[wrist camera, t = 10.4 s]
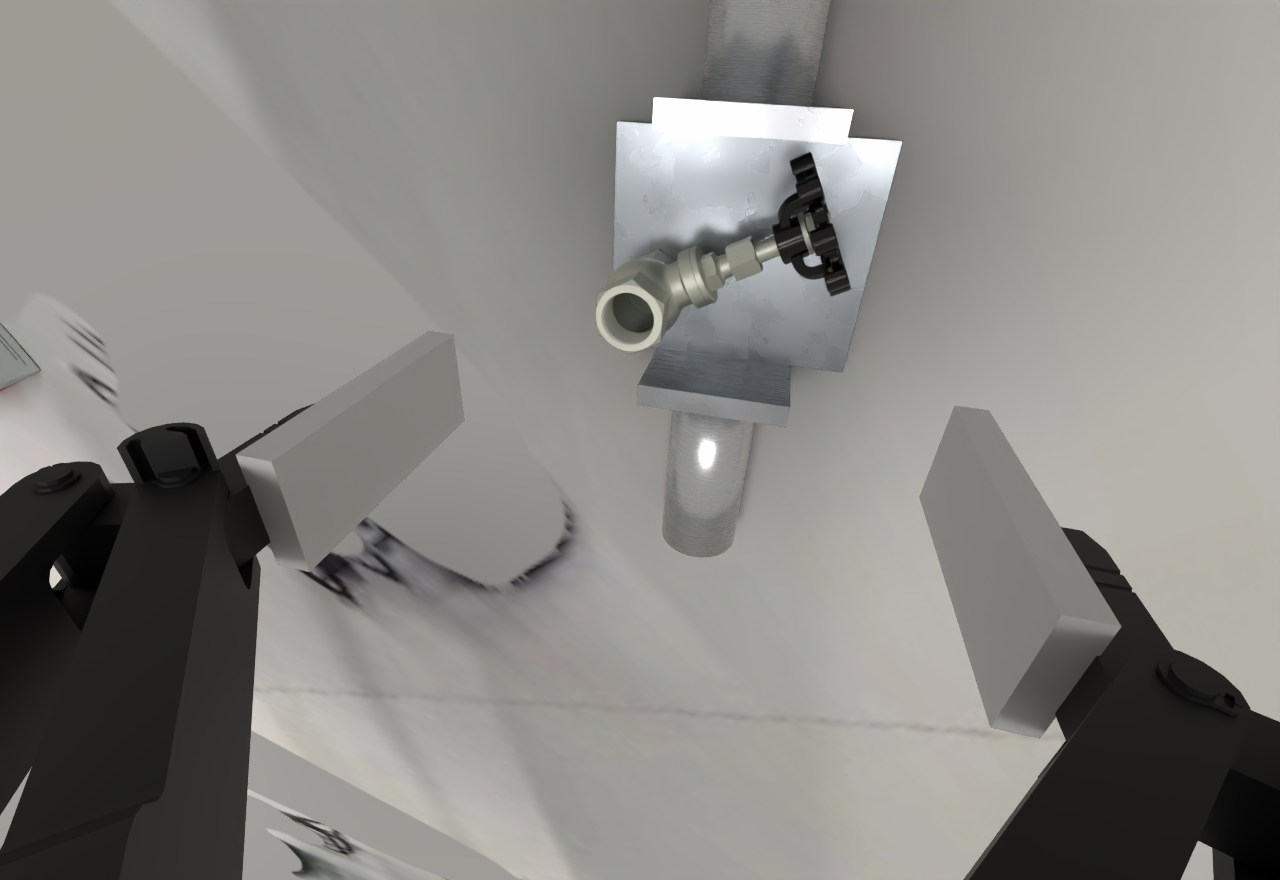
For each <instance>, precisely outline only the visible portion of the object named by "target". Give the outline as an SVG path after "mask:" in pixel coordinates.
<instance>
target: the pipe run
mask: <svg viewBox="0 0 1280 880" xmlns="http://www.w3.org/2000/svg"><path fill="white" fill-rule="evenodd" d="M829 6H830V0H711V7H710V18H709V28H708V39H707V50H706V61H705V72H704V82H703V93H702V99H689V98H661V97H654V101H653V119H652V123H646V122H631V121H617V142H616V179H615V216H614V254H613V272H614V271H615V270H616V269H617V268H618V267H619V266H621V265H622V264H624V263H625V262H627V261H630V260H633V259H636V258H640V257H642V256H644V255H647V254H649V253H652V252H654V251H657V250H660V251H662V252H663V253H664V254H666V255H667V256H669V257H670V258H671V259H672V260H674V261H677V258H678V254H679V253H680V252H682V251H684V250H686V249H689V248H691V247H694V246H696V245H697V246H699V247H700V248H701V249H702V251H703V252H704V254H705V255H706V254H708V253H711V252H714V253H715V254H716V255H717V256H720V255H723V254H725V253H726V252H725V249H726V247H727V246H728V245H730V244H733V243H735V242H737V241H740V240H742V239H745V238H747V237H749V236H752V237H753V239H754V241H755V243H757V242H759V241H762V240H764V239H767V238H769V237H771V236H774V235H773V231H772V225H773V224H775V223H777V222H779V221H778V211H779V208H780V206H781V205H782V203H783V202H784V201H785V200H786V199H787V198H788V197H789V196H791V195H792V194H794V193H797V190H796V187H795V184H796V183H797V181H796V178H795V175H793V173H792V169H791V166H790V160H792V159H795V158H797V157H799V156H801V155H803V154H805V153H808V152H812V155H813V158H814V162H815V165H816V169H817V172H818V175H819V178H820V182H821V185H822V188H823V192H824V195H825V201H824V203H826V204H827V208H828V211H829V214H830V217H831V220H832V223H833V226H834V229H835V233H836V236H837V240H838V243H839V249H840V252H841V255H842V259H843V262H844V264H845V267H846V271H847V274H848V278H849V281H850V286H851V290H850V291H847V292H844V293H841V294H838V295H835V296H832V297H831V296H830V293H829V292H828V291H827V288H826V285H825V281H824V278H821V279H816V280H810V279H806V278H803V277H802V276H800V275H799V274H798V273H797V272H796V270H795V269H794V267H793V265H792V262H791V263H789V264H786V265H785V264H784V263H783V262H782V259H781V257H780V256H778V257H775V258H773V259H770V260H768V261H765V262H763V263H762V265H763V270H762V272H761V273H758V274H756V275H753V276H750V277H748V278H745V279H743V280H740V281H736V279H735V277H734V276H732V277H729V278H727V279H726V280H725V285H724V286H723V287H722V288H719V289H717V293H718V299H717V301H716V302H715V303H712V304H710V305H707V306H704V307H702V308H697V307H695V306H694V305H693V304H691V305H689V306H686V307H684V308H682V310H681V313H680V315H679V317H678V319H677V321H676V322H675V324H674V325H673V326H672V327H671V328H670V329H669V330H668V331H667V332H666V333H665V335H664V337H663V338H662V340H661V342H660V343H657V344H655V345H653V346H651V347H658V349H657V351H656V352H655V354H654V356H653V358H652V360H651V362H650V363H649V365H648V367H647V369H646V371H645V373H644V374H643V376H642V378H641V380H640V382H639V384H638V392H637V405H643V406H649V407H656V408H662V409H669V410H673V416H672V427H671V438H670V448H669V459H668V470H667V481H666V491H665V502H664V513H663V524H662V534H663V537H664V539H665V541H666V542H667V543H668V544H669V545H670V546H671V547H672V548H674V549H675V550H677V551H679V552H681V553H683V554H686V555H689V556H694V557H712V556H716V555H719V554H722V553H724V552H725V551H727V550H728V549H729V548H730V546H731V545H732V543H733V540H734V535H735V529H736V523H737V518H738V512H739V507H740V501H741V496H742V490H743V484H744V479H745V473H746V468H747V462H748V457H749V451H750V446H751V440H752V434H753V429H754V423H760V424H766V425H773V426H779V427H786V423H787V419H788V414H789V409H790V365H791V366H798V367H805V368H813V369H820V370H828V371H835V372H842V373H843V369H844V365H845V361H846V357H847V354H848V350H849V346H850V342H851V338H852V334H853V330H854V326H855V323H856V319H857V315H858V311H859V307H860V303H861V299H862V296H863V292H864V288H865V284H866V280H867V276H868V272H869V268H870V265H871V261H872V257H873V253H874V249H875V245H876V241H877V237H878V234H879V230H880V226H881V222H882V218H883V214H884V210H885V207H886V203H887V199H888V195H889V191H890V187H891V183H892V179H893V176H894V172H895V168H896V164H897V160H898V156H899V152H900V148H901V145H902V141H900V140H890V139H875V138H861V137H848V133H849V128H850V123H851V119H852V114H853V110H852V109H845V108H835V107H819V106H812V100H813V95H814V89H815V84H816V78H817V73H818V67H819V61H820V56H821V50H822V45H823V39H824V34H825V28H826V23H827V17H828V11H829ZM807 210H809V205H808V206H805V207H802V208H799V209H797V210H795V211H794V212H793V213H792V214H791V217H792V216H794V215H797V214H799V213H801V212H802V213H803V215H804V216H805V214H807ZM814 252H815V251H814ZM804 262H805V264H806V265H807V266H809V267H815V266H817V265H820V264H822V262H821V258H820V256H816V254H812V255H809V256H807V257H804Z"/></svg>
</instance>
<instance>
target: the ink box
mask: <svg viewBox="0 0 1280 880" xmlns="http://www.w3.org/2000/svg"><path fill="white" fill-rule="evenodd" d="M38 371H40V369H39V368H38V367H37V365H36V364H35V363H34V362H33V361H32V360H31V359H30V357H29V356H28V355H27V354H26V353H25V351H24V350H23V349H22V348H21V347H20V346H19V345H18V343H17V342H16V341H15V340H14V339H13V338H12V336H11V335H10V334H9V333H8V332H7V331H6V330H5V329H4V328H3V326H2V325H1V324H0V391H1V390H3V389H5V388H7V387H9V386H11V385H13V384H15V383H17V382H19V381H21V380H22V379H25V378H27V377H29V376H31V375H33V374H34V373H36V372H38Z"/></svg>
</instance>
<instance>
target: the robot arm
mask: <svg viewBox="0 0 1280 880" xmlns="http://www.w3.org/2000/svg"><path fill="white" fill-rule="evenodd" d="M463 421H464V412H463V405H462V397H461V389H460V382H459V373H458V366H457V358H456V350H455V342H454V335H453V334H446V333H439V332H432V331H428V332H426V333H425V334H423V335H422V336H420V337H418V338H417V339H415V340H414V341H412V342H411V343H409V344H407V345H406V346H404V347H403V348H401V349H400V350H398V351H396V352H395V353H393V354H392V355H390V356H389V357H387V358H386V359H384V360H383V361H381V362H379V363H378V364H376V365H375V366H373V367H372V368H370V369H368V370H367V371H365V372H364V373H362V374H361V375H359V376H357V377H356V378H354V379H353V380H351V381H350V382H348V383H347V384H345V385H343V386H342V387H340V388H339V389H337V390H336V391H334V392H333V393H331V394H329V395H328V396H326V397H325V398H323V399H322V400H320V401H318V402H317V403H315V404H312V405H309V406H307V407H304V408H301V409H299V410H296V411H294V412H293V413H291V414H290V415H288V416H286V417H285V418H283V419H282V420H280V421H279V422H278V424H274V425H272V426H271V427H269V428H267V429H266V430H264V433H259V434H258V435H256V436H255V437H253V438H251V439H250V440H248V441H247V442H245V443H244V444H242V445H240V446H239V447H237V448H236V449H234V450H232V451H231V452H229V453H228V454H226V455H224V456H223V457H221V458H220V459H218V460H217V459H216V456H215V454H214V451H213V449H212V446H211V444H210V441H209V439H208V437H207V434H206V431H205V429H204V427H202V426H200V425H198V424H193V423H171V424H165V425H161V426H156V427H152V428H149V429H146V430H144V431H141V432H138V433H135V434H134V435H132V436H130V437H129V438H127V439H125V440H124V441H123V442H122V443H121V444H120V445H119V446H118V447H117V449H118V451H119V453H120V455H121V457H122V459H123V461H124V463H125V465H126V467H127V469H128V471H129V473H130V475H131V477H132V479H133V480H134V482H135V483H114V484H110V483H109V481H108V479H107V477H106V475H105V474H104V472H103V470H102V468H101V466H100V465H99V464H96V463H93V462H71V463H59V464H55V465H53V466H52V467H51V466H48V467H45V468H42V469H40V470H39V471H37V472H35V473H33V474H30V475H28V476H26V477H24V478H23V479H21V480H20V481H18V482H17V483H15V484H14V485H13V486H11V487H10V488H9V489H8V490H7V491H6V492H5V493H3V494H2V495H1V496H0V815H1V813H2V812H3V810H4V809H5V807H6V806H7V804H8V803H9V801H10V799H11V798H12V796H13V795H14V793H15V792H16V790H17V789H18V787H19V786H20V784H21V782H22V781H23V779H24V778H25V776H26V775H27V773H28V772H29V770H30V769H31V771H30V774H29V776H28V779H27V782H26V785H25V787H24V790H23V793H22V796H21V798H20V801H19V803H18V807H17V809H16V812H15V814H14V817H13V820H12V823H11V825H10V828H9V831H8V833H7V836H6V839H5V842H4V844H3V846H2V848H1V850H0V880H242V870H243V852H244V837H245V820H246V803H247V786H248V770H249V753H250V737H251V720H252V704H253V687H254V670H255V654H256V637H257V620H258V604H259V587H260V570H261V568H260V565H259V561H258V559H257V557H256V554H257V553H258V552H259V551H261V550H262V549H263V548H264V547H265V546H266V545H268V544H269V543H270V546H271V548H272V551H273V553H274V556H275V559H276V561H277V564H278V565H282V566H286V567H290V568H295V569H299V570H303V571H308V572H310V571H311V570H312V569H313V568H314V567H315V566H316V565H317V564H318V563H319V562H320V561H321V560H322V559H323V558H325V557H326V556H327V555H328V554H329V553H330V552H331V551H332V550H333V549H334V548H335V547H336V546H337V545H338V544H339V543H340V542H341V541H342V540H343V539H344V538H345V537H346V536H347V535H348V534H349V533H350V532H351V531H352V530H353V529H354V528H355V527H356V526H357V525H358V524H359V523H360V522H361V521H362V520H363V519H364V518H365V517H366V516H367V515H368V514H369V513H370V512H371V511H372V510H373V509H374V508H376V506H378V505H379V503H381V502H382V501H383V500H384V499H385V498H386V497H387V496H388V495H389V494H390V493H391V492H392V491H393V490H394V489H395V488H396V487H397V486H398V485H399V484H400V483H401V482H402V481H403V480H404V479H405V478H406V477H407V476H408V475H409V474H410V473H411V472H412V471H413V470H414V469H415V468H416V467H417V466H418V465H419V464H420V463H421V462H422V461H423V460H424V459H425V458H427V456H429V455H430V454H431V453H432V452H433V451H434V450H435V449H436V448H437V447H438V446H439V445H440V444H441V443H442V442H443V441H444V440H445V439H446V438H447V437H448V436H449V435H450V434H451V433H452V432H453V431H454V430H455V429H456V428H457V427H458V426H459V425H460V424H461V423H462V422H463ZM920 500H921V504H922V507H923V510H924V513H925V517H926V520H927V523H928V526H929V530H930V533H931V536H932V539H933V543H934V546H935V549H936V552H937V556H938V559H939V562H940V565H941V569H942V572H943V575H944V578H945V582H946V585H947V588H948V591H949V595H950V598H951V601H952V604H953V608H954V611H955V614H956V617H957V620H958V624H959V627H960V630H961V633H962V637H963V640H964V643H965V646H966V650H967V653H968V656H969V659H970V663H971V666H972V669H973V672H974V676H975V679H976V682H977V685H978V689H979V692H980V695H981V698H982V702H983V705H984V708H985V711H986V715H987V718H988V721H989V724H990V727H991V728H995V729H999V730H1004V731H1008V732H1013V733H1017V734H1021V735H1026V736H1030V737H1034V738H1039V739H1040V738H1041V737H1042V735H1043V734H1044V732H1045V731H1046V730H1047V728H1048V727H1049V726H1050V724H1051V723H1052V721H1053V720H1054V719H1055V717H1056V718H1057V720H1058V722H1059V725H1060V727H1061V730H1062V732H1063V734H1064V737H1065V739H1066V741H1065V743H1064V744H1063V745H1062V746H1061V748H1060V749H1059V750H1058V752H1057V753H1056V754H1055V756H1054V757H1053V758H1052V759H1051V761H1050V762H1049V763H1048V765H1047V766H1046V767H1045V768H1044V770H1043V771H1042V772H1041V774H1040V775H1039V776H1038V779H1037V780H1036V782H1035V783H1034V784H1033V786H1032V787H1031V788H1030V790H1029V791H1028V793H1027V794H1026V795H1025V797H1024V798H1023V799H1022V801H1021V802H1020V803H1019V805H1018V806H1017V807H1016V809H1015V810H1014V812H1013V813H1012V814H1011V816H1010V817H1009V818H1008V820H1007V821H1006V822H1005V824H1004V825H1003V827H1002V828H1001V829H1000V831H999V832H998V833H997V835H996V836H995V837H994V839H993V840H992V842H991V843H990V844H989V846H988V847H987V848H986V850H985V851H984V852H983V854H982V855H981V857H980V858H979V859H978V861H977V862H976V863H975V865H974V866H973V867H972V869H971V870H970V872H969V873H968V874H967V876H966V877H965V878H964V880H1181V877H1182V875H1183V873H1184V871H1185V868H1186V866H1187V864H1188V862H1189V859H1190V857H1191V855H1192V852H1193V850H1194V848H1195V846H1196V843H1197V841H1200V842H1202V843H1204V844H1206V845H1208V846H1210V847H1212V850H1213V874H1214V880H1280V722H1278V721H1276V720H1273V719H1271V718H1268V717H1266V716H1263V715H1261V714H1259V713H1256V712H1254V711H1252V710H1250V707H1249V705H1248V703H1247V702H1246V700H1245V699H1244V697H1243V695H1242V694H1241V692H1240V691H1239V690H1238V689H1237V688H1236V687H1235V686H1234V685H1233V684H1232V683H1231V682H1230V681H1228V680H1227V679H1226V678H1225V677H1224V676H1223V675H1222V674H1220V673H1219V672H1217V671H1216V670H1214V669H1213V668H1211V667H1210V666H1208V665H1207V664H1205V663H1204V662H1202V661H1200V660H1198V659H1196V658H1194V657H1191V656H1189V655H1187V654H1185V653H1183V652H1181V651H1177V650H1174V649H1173V648H1172V646H1171V645H1170V643H1169V642H1168V640H1167V639H1166V637H1165V636H1164V634H1163V633H1162V631H1161V630H1160V628H1159V627H1158V626H1157V624H1156V623H1155V621H1154V620H1153V618H1152V617H1151V615H1150V614H1149V612H1148V611H1147V609H1146V608H1145V607H1144V605H1143V604H1142V602H1141V601H1140V599H1139V598H1138V596H1137V595H1136V593H1133V592H1132V587H1131V586H1130V585H1129V583H1128V582H1127V580H1126V579H1125V577H1124V576H1123V575H1120V570H1119V568H1118V567H1117V565H1116V564H1115V563H1114V561H1113V560H1112V558H1111V557H1110V555H1109V554H1108V552H1107V551H1106V550H1105V549H1104V548H1103V547H1101V546H1100V545H1099V544H1098V543H1096V542H1095V541H1094V540H1093V539H1092V538H1090V537H1089V536H1088V535H1087V534H1086V533H1084V532H1083V531H1080V530H1074V529H1069V528H1063V527H1060V525H1059V524H1058V522H1057V521H1056V519H1055V517H1054V516H1053V514H1052V512H1051V511H1050V509H1049V508H1048V506H1047V504H1046V503H1045V501H1044V499H1043V498H1042V496H1041V495H1040V493H1039V491H1038V490H1037V488H1036V486H1035V485H1034V483H1033V482H1032V480H1031V478H1030V477H1029V475H1028V473H1027V472H1026V470H1025V468H1024V467H1023V465H1022V464H1021V462H1020V460H1019V459H1018V457H1017V455H1016V454H1015V452H1014V451H1013V449H1012V447H1011V446H1010V444H1009V442H1008V441H1007V439H1006V438H1005V436H1004V434H1003V433H1002V431H1001V429H1000V428H999V426H998V424H997V423H996V421H995V420H994V418H993V416H992V415H991V413H990V411H989V410H982V409H975V408H968V407H961V406H954V409H953V411H952V414H951V417H950V419H949V422H948V424H947V427H946V430H945V432H944V435H943V437H942V440H941V442H940V445H939V448H938V450H937V453H936V455H935V458H934V461H933V463H932V466H931V468H930V471H929V474H928V476H927V479H926V481H925V484H924V487H923V489H922V492H921V494H920ZM53 565H54V567H55V568H56V570H57V571H58V573H59V574H60V576H61V577H62V579H61V580H60V581H59V582H58V583H57V585H56V586H55V587H54V588H51V586H50V583H49V577H50V570H51V568H52V566H53ZM31 767H32V768H31Z"/></svg>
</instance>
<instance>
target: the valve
mask: <svg viewBox="0 0 1280 880" xmlns="http://www.w3.org/2000/svg"><path fill="white" fill-rule="evenodd" d="M790 166H791V169H792V173H793V175H795V178H796V181H797V183H796V184H795V187H796V190H797V193H794V194H792V195H791V196H789V197H788V198H787V199H786V200H785V201H784V202H783V203H782V205H781V206H780V208H779V211H778V221H779V222H777V223H775V224H773V225H772V231H773V235H774V236H771V237H769V238H767V239H764V240H762V241H759V242H757V243H755V241H754V239H753V237H752V236H749V237H747V238H745V239H742V240H740V241H737V242H735V243H733V244H730V245H728V246H727V247H726V249H725V252H726V253H725V254H723V255H720V256H717V255H716V254H715V253H714V252H711V253H708V254H706V255H705V254H704V252H703V251H702V249H701V248H700V247H699V246H697V245H696V246H694V247H691V248H689V249H686V250H684V251H682V252H680V253H679V254H678V258H677V261H674V260H672V259H671V258H670V257H669V256H667V255H666V254H664V253H663V252H662V251H660V250H657V251H654V252H652V253H649V254H647V255H644V256H642V257H640V258H636V259H633V260H630V261H627V262H625V263H624V264H622V265H621V266H619V267H618V268H617V269H616V270H615V271H614V272H613V274H612V275H611V276H610V278H609V280H608V282H607V284H606V286H605V287H604V288H603V289H602V290H601V291H600V292H599V293H598V295H597V305H596V332H597V333H598V334H599V335H600V336H602V337H603V338H604V339H605V340H606V341H608V342H609V343H610V344H611V345H613V346H614V347H616V348H617V349H618V350H620V351H622V352H623V353H625V354H630V353H633V352H636V351H639V350H642V349H645V348H648V347H650V346H653V345H655V344H657V343H660V342H661V340H662V338H663V337H664V335H665V333H666V332H667V331H668V330H669V329H670V328H671V327H672V326H673V325H674V324H675V322H676V321H677V319H678V317H679V315H680V313H681V310H682V308H684V307H686V306H689V305H691V304H693V305H694V306H695V307H697V308H702V307H704V306H707V305H710V304H712V303H715V302H716V301H717V299H718V293H717V289H719V288H722V287H723V286H724V285H725V280H726V279H727V278H729V277H732V276H734V277H735V279H736V281H740V280H743V279H745V278H748V277H750V276H753V275H756V274H758V273H761V272H762V270H763V265H762V263H763V262H765V261H768V260H770V259H773V258H775V257H778V256H780V257H781V259H782V262H783V263H784V264H785V265H786V264H789V263H791V262H792V265H793V267H794V269H795V270H796V272H797V273H798V274H799V275H800V276H802V277H803V278H806V279H810V280H816V279H821V278H824V281H825V285H826V288H827V291H828V292H829V293H830V296H831V297H832V296H835V295H838V294H841V293H844V292H847V291H850V290H851V286H850V281H849V278H848V274H847V271H846V267H845V264H844V262H843V259H842V255H841V252H840V249H839V243H838V240H837V236H836V233H835V229H834V226H833V223H832V220H831V217H830V214H829V211H828V208H827V204H826V203H824V201H825V195H824V192H823V188H822V185H821V182H820V178H819V175H818V172H817V169H816V165H815V162H814V158H813V155H812V152H808V153H805V154H803V155H801V156H799V157H797V158H795V159H792V160H790ZM808 205H809V210H807V214H805V216H804V215H803V213H802V212H801V213H799V214H797V215H794V216H792V217H791V214H792V213H793V212H794V211H795V210H797V209H799V208H802V207H805V206H808ZM814 251H815V252H814ZM812 254H816V256H820V258H821V262H822V264H820V265H817V266H815V267H809V266H807V265H806V264H805V262H804V257H807V256H809V255H812Z"/></svg>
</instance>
